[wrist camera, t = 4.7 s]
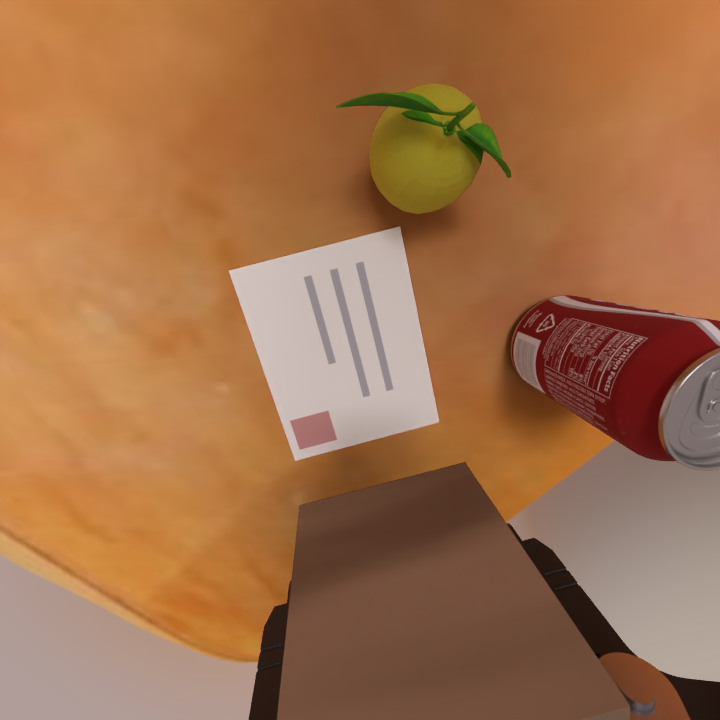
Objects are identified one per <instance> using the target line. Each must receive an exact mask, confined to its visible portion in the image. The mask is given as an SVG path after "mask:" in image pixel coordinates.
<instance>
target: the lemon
mask: <svg viewBox="0 0 720 720" xmlns="http://www.w3.org/2000/svg"><path fill="white" fill-rule="evenodd" d="M348 106H388V107H387V109H386V110H385V111H384V112H383V113H382V114H381V116H380V118H379V120H378V122H377V125H376V127H375V129H374V131H373V134H372V136H371V142H370V149H369V163H370V170H371V176H372V178H373V180H374V182H375V184H376V186H377V188H378V190H379V191H380V192H381V193H382V195H383V196H384V197H385V198H386V199H387V200H388V201H389V203H391V204H393V205H394V206H396V207H397V208H399V209H400V210H402V211H405V212H410V213H415V214H422V213H428V212H434V211H437V210H439V209H441V208H443V207H444V206H446V205H448V204H450V203H452V202H453V201H455V200H456V199H457V198H458V197H459V196H460V195H461V194H462V193H463V192H464V191H465V190H466V189H467V188H468V187H469V186H470V184H471V183H472V181H473V179H474V177H475V175H476V173H477V171H478V169H479V167H480V165H481V161H482V156H483V151H484V150H485V151H486V152H487V153H489V154H490V155H491V156H492V157H493V158H494V159H495V160H496V161H497V162H498V163H499V165H500V166H501V167H502V169H503V171H504V172H505V174H506V176H507V177H508V178H510V177H511V172H510V169H509V168H508V166H507V164H506V163H505V162H504V161H503V159H502V156H501V153H500V149H499V146H498V143H497V140H496V137H495V135H494V133H493V131H492V129H491V128H490V127H489V126H487V125H485V124H484V123H482V120H481V117H480V114H479V110H478V108H477V107H476V106H475V103H474V102H472V101H471V100H470V99H469V97H468V96H466V95H465V94H463V93H462V92H461V91H459V90H458V89H456V88H455V87H452V86H448V85H444V84H439V83H432V84H424V85H418V86H415V87H413V88H412V89H410V90H408V91H406V92H399V93H385V92H383V93H374V94H368V95H364V96H360V97H357V98H354V99H352V100H349V101H347V102H344V103H342V104H340V105H338V106H336V108H338V107H348Z"/></svg>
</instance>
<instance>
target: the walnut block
mask: <svg viewBox="0 0 720 720" xmlns="http://www.w3.org/2000/svg"><path fill="white" fill-rule="evenodd" d="M277 720H630V705H629V704H628V702H627V701H626V699H625V698H624V696H623V695H622V693H621V692H620V690H619V689H618V687H617V686H616V685H615V683H614V682H613V680H612V679H611V677H610V676H609V674H608V673H607V671H606V670H605V668H604V667H603V665H602V664H601V662H600V661H599V659H598V658H597V656H596V655H595V654H594V652H593V651H592V649H591V648H590V646H589V645H588V643H587V642H586V640H585V639H584V637H583V636H582V634H581V633H580V631H579V630H578V628H577V627H576V625H575V624H574V623H573V621H572V620H571V618H570V617H569V615H568V614H567V612H566V611H565V609H564V608H563V606H562V605H561V603H560V602H559V600H558V599H557V597H556V596H555V594H554V593H553V592H552V590H551V589H550V587H549V586H548V584H547V583H546V581H545V580H544V578H543V577H542V575H541V574H540V572H539V571H538V569H537V568H536V566H535V565H534V563H533V562H532V561H531V559H530V558H529V556H528V555H527V553H526V552H525V550H524V549H523V547H522V546H521V544H520V543H519V541H518V540H517V538H516V537H515V535H514V534H513V533H512V531H511V530H510V528H509V527H508V525H507V524H506V522H505V521H504V519H503V518H502V516H501V515H500V513H499V512H498V510H497V509H496V507H495V506H494V504H493V503H492V502H491V500H490V499H489V497H488V496H487V494H486V493H485V491H484V490H483V488H482V487H481V485H480V484H479V482H478V481H477V479H476V478H475V476H474V475H473V473H472V472H471V471H470V469H469V468H468V466H467V465H466V463H465V462H464V463H460V464H456V465H452V466H448V467H444V468H441V469H437V470H433V471H429V472H425V473H421V474H418V475H414V476H410V477H406V478H402V479H398V480H395V481H391V482H387V483H383V484H379V485H375V486H372V487H368V488H364V489H360V490H356V491H352V492H349V493H345V494H341V495H337V496H333V497H330V498H326V499H322V500H318V501H314V502H310V503H307V504H303V505H300V507H299V516H298V525H297V535H296V544H295V554H294V563H293V572H292V582H291V591H290V601H289V610H288V619H287V629H286V638H285V648H284V657H283V666H282V676H281V685H280V695H279V704H278V713H277Z"/></svg>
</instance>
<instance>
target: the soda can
mask: <svg viewBox="0 0 720 720" xmlns="http://www.w3.org/2000/svg"><path fill="white" fill-rule="evenodd" d="M511 360H512V363H513V366H514V368H515V370H516V372H517V374H518V375H519V376H520V377H521V378H522V379H523V380H524V381H525V382H526V383H528V384H529V385H531V386H532V387H534V388H536V389H537V390H539V391H540V392H542V393H543V394H545V395H546V396H548V397H550V398H551V399H553V400H554V401H556V402H557V403H559V404H560V405H562V406H563V407H565V408H567V409H568V410H570V411H571V412H573V413H574V414H576V415H577V416H579V417H581V418H582V419H584V420H585V421H587V422H588V423H590V424H591V425H593V426H595V427H596V428H598V429H599V430H601V431H602V432H604V433H605V434H607V435H608V436H610V437H612V438H613V439H615V440H616V441H618V442H619V443H621V444H622V445H624V446H626V447H627V448H629V449H630V450H632V451H633V452H635V453H637V454H639V455H641V456H643V457H646V458H649V459H653V460H659V461H677V462H679V463H680V464H682V465H684V466H686V467H689V468H692V469H696V470H704V471H709V470H710V471H711V470H718V469H720V321H716V320H711V319H705V318H699V317H693V316H687V315H681V314H676V313H670V312H664V311H658V310H652V309H646V308H641V307H635V306H629V305H623V304H617V303H611V302H606V301H600V300H594V299H588V298H582V297H576V296H569V295H562V296H555V297H552V298H549V299H546V300H544V301H542V302H540V303H538V304H537V305H535V306H534V307H533V308H531V309H530V310H529V311H528V312H527V313H526V314H525V315H524V316H523V318H522V319H521V320H520V322H519V324H518V325H517V327H516V329H515V331H514V334H513V337H512V341H511Z"/></svg>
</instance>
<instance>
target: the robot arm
mask: <svg viewBox="0 0 720 720" xmlns="http://www.w3.org/2000/svg"><path fill="white" fill-rule="evenodd" d="M507 525H508V527H509V528H510V530H511V531H512V533H513V534H514V535H515V537H516V538H517V540H518V541H519V543H520V544H521V546H522V547H523V549H524V550H525V552H526V553H527V555H528V556H529V558H530V559H531V561H532V562H533V563H534V565H535V566H536V568H537V569H538V571H539V572H540V574H541V575H542V577H543V578H544V580H545V581H546V583H547V584H548V586H549V587H550V589H551V590H552V592H553V593H554V594H555V596H556V597H557V599H558V600H559V602H560V603H561V605H562V606H563V608H564V609H565V611H566V612H567V614H568V615H569V617H570V618H571V620H572V621H573V623H574V624H575V625H576V627H577V628H578V630H579V631H580V633H581V634H582V636H583V637H584V639H585V640H586V642H587V643H588V645H589V646H590V648H591V649H592V651H593V652H594V654H595V655H596V656H597V658H598V659H599V661H600V662H601V664H602V665H603V667H604V668H605V670H606V671H607V673H608V674H609V676H610V677H611V679H612V680H613V682H614V683H615V685H616V686H617V687H618V689H619V690H620V692H621V693H622V695H623V696H624V698H625V699H626V701H627V702H628V704H629V705H630V720H720V682H713V681H704V680H695V679H686V678H680V677H676V676H672V675H669V674H667V673H664V672H662V671H659V670H658V669H656V668H655V667H654V666H652V665H651V664H650V663H648V662H646V661H644V660H643V659H641V658H639V657H637V656H636V655H635V654H634V653H633V652H632V651H631V650H630V649H629V648H628V647H627V646H626V644H625V643H624V642H623V641H622V640H621V638H620V637H619V636H618V634H617V633H616V632H615V630H614V629H613V628H612V627H611V625H610V624H609V623H608V622H607V620H606V619H605V618H604V616H603V615H602V614H601V612H600V611H599V610H598V609H597V607H596V606H595V605H594V604H593V602H592V601H591V599H590V598H589V597H588V596H587V594H586V593H585V592H584V591H583V589H582V588H581V587H580V586H579V585H578V584H577V581H575V579H574V578H573V576H572V575H571V574H570V572H569V571H567V570H566V567H565V566H564V565H563V563H562V562H561V561H560V559H559V558H558V557H557V556H556V554H555V553H554V552H553V551H552V550H551V549H550V548H548V547H547V546H545V545H544V544H543V543H541V542H540V541H538V540H537V539H535V538H532V539H528V540H524V541H522V540H521V539H520V537H519V536H518V535H517V533H516V532H515V530H514V529H513V527H512V526H511V525H510V524H509V523H507ZM291 582H292V580H291V581H290V584H289V590H288V599H287V603H286V604H282V605H279V606H275V607H274V609H273V611H272V613H271V615H270V616H269V618H268V620H267V622H266V624H265V626H264V631H263V637H262V643H261V653H260V655H259V661H258V667H257V668H258V672H257V673H256V679H255V685H254V692H253V697H252V703H251V709H250V715H249V720H277V713H278V704H279V695H280V685H281V676H282V666H283V657H284V648H285V638H286V629H287V619H288V610H289V601H290V591H291Z"/></svg>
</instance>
